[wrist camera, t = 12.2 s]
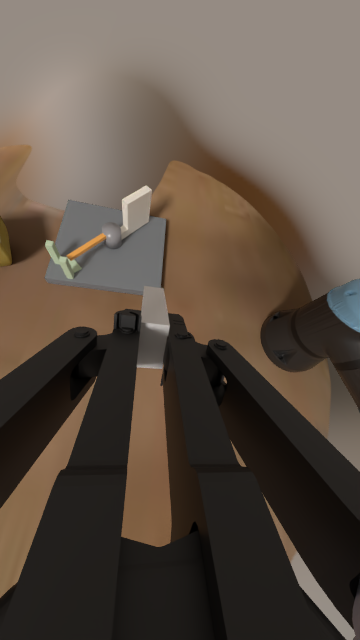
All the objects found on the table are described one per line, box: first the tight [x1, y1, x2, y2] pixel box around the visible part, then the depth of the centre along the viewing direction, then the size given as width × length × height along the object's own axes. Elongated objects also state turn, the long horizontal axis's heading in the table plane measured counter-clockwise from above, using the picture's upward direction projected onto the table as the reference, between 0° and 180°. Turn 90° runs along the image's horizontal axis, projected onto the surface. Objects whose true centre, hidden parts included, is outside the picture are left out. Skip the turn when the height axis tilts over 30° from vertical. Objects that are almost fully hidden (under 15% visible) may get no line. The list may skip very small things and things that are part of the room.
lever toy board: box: [45, 200, 166, 295], centre depth 49 cm, size 24×22×8 cm
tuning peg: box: [66, 186, 152, 261], centre depth 46 cm, size 22×4×9 cm, turn 138°
